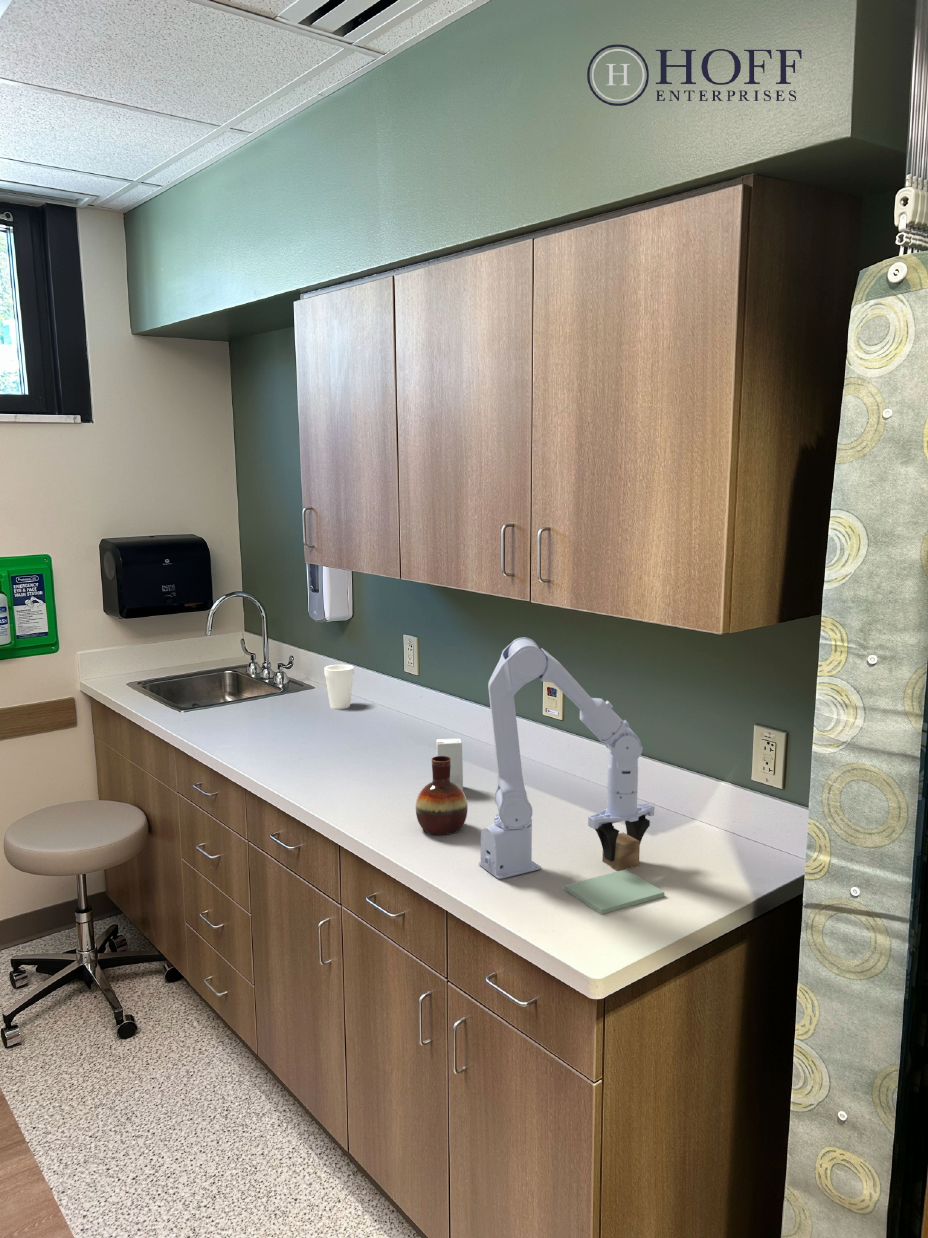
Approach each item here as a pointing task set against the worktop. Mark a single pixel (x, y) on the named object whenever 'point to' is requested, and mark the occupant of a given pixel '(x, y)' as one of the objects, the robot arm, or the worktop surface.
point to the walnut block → (625, 853)
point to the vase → (441, 801)
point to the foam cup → (339, 685)
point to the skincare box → (452, 758)
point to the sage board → (613, 891)
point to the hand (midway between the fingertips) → (620, 856)
